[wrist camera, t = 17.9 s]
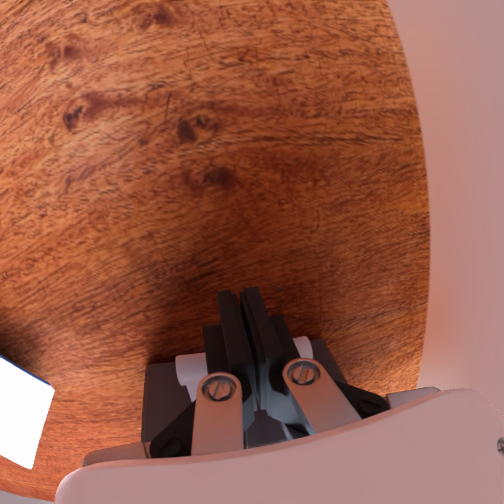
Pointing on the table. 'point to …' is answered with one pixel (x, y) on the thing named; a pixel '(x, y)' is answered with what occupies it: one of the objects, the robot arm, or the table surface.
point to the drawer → (186, 382)
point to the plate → (21, 411)
